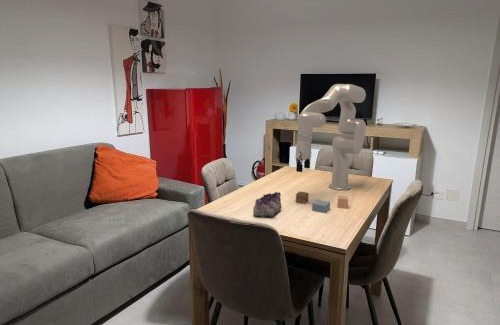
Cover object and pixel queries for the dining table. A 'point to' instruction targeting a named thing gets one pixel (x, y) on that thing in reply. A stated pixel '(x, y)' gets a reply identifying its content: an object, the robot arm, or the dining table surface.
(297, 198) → the walnut cube
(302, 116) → the robot arm
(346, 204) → the terracotta cube
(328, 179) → the dining table surface
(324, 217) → the dining table surface
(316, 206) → the blue-grey square box
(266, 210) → the geode
